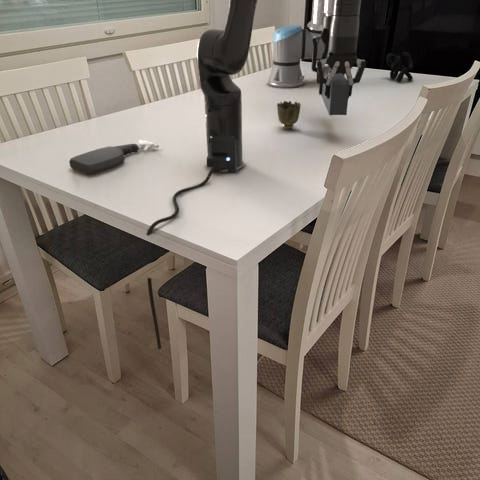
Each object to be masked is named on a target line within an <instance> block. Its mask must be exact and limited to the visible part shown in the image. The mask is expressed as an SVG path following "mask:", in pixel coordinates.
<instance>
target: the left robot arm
mask: <svg viewBox="0 0 480 480" xmlns="http://www.w3.org/2000/svg"><path fill="white" fill-rule="evenodd" d="M361 3H362V0H334V1H333V13H332V20H331V25H330V37H329V49H328V55H327V57H326V59H323V60H320V59H317V61H316V67H317V70H318V76H319V81H320V83H323V84H325V92H324V94H325V97H327V99H329V98H330V87H331V86H330V83H331V81H332V79H333V77H334V75H335V74H339V73H343V74H345V78H346V79H347V81H348V82H349V84H350V87H349V96H348V100H349V99H350V97H352V94H353V86H354V85H355V84H359V83H360V82H361V80H362V77H363V73H364V71H365V70H366V66H367V61H366V60H365V59H360V58H358V56H357V49H358V48H357V47H358V39H359V29H360V13H361V12H360V11H361V6H362V5H361ZM257 4H258V0H228V13H227V17H226V22H225V26H224V29H217V28H216V29H213V28H212V29H207V30H205V31H204V32H203V33H202V34H201V36H200V37H199V39H198V42H197V49H196V61H197V69H198V78H199V85H200V90H201V92H202V94H203V99H204V100H203V101H204V116H205V117H204V118H205V133H206V134H205V135H206V151H207V152H206V153H207V156H206V168H208V169H209V172H208V174H207V176H206V178H204V180H203V181H202V182H200V183H199V184H197V185H193V186H191V187H185V188H182V189H179V190H178V191H176V192H175V193H174V195H173V196H172V203H173V206H174V209H175V210H174V212H173V213H172V214H171V215H169V216H165V217H162V218H160V219H157V220H155V221H154V222H152V224H151V225H150V226H149V228H148V229H147V231H146V236H151V234H152V232H153V230H154V229H155V228H156V227H157V226H158V225H160V224H162V223H164V222H167V221H171V220H173V219H175V218H176V217H177V216H178V214H179V212H180V207H179V204H178V201H177V198H178V196H180V195H181V194H183V193H185V192H189V191H192V190H195V189H198V188H200V187H204V186H205V185H206V184H207V183H208V182H209V180H210V178H211V176H212V174H213V173H237V171H239V170H240V169H242V168H243V166H244V160H243V114H242V113H243V109H242V108H243V106H242V105H243V104H242V103H243V102H242V101H243V100H242V99H243V98H242V96H243V95H242V89H241V88H240V87H239V86H238V85H237V84H236V83H235V82H234V81H233V79H232V78H231V76H234V75H238V74H239V73H241V71H243V69H244V67H245V65H246V63H247V60H248V57H249V52H250V46H251V40H252V33H253V25H254V19H255V14H256V8H257ZM326 64H327V66H329V67H330V70H329V72H328V76H327V78H326V79H325V78H324V76H323V70H322V68H324V67H325V66H326ZM355 65H356V67H357V70H356V73H355V76H354V77H353V74H352V69H353V67H354V66H355ZM147 287H148V297H149V303H150V309H151V313H152V314H151V315H152V319H153V326H154V331H155V337H156V345H157V349H158V350H161V349H162V343H161V336H160V331H159V330H160V329H159V324H158V317H157V312H156V307H155V300H154V293H153V283H152V278H151V277H147Z"/></svg>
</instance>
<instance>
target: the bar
mask: <svg viewBox="0 0 480 480" xmlns="http://www.w3.org/2000/svg"><path fill="white" fill-rule="evenodd" d="M322 70H323V76H324V78H325V79H326V78H327V76H328V72H329V70H330V67H329V66H328V65H325V67H324V68H322ZM330 86H331V87H330V98H329V99H327V97H325V94H324V92H325V84H323V86H322V95H320V96H321V99H322V101H323V103H324V106H325V108H326V111H327V113H328V115H329V116H347V114H348V105H349V99H348V96H349V87H350V84H349V82H348V81H347V77H346V76H345V75H343V74H342V73H339V74H335V75H334V77H333V79H332V81H331V83H330Z"/></svg>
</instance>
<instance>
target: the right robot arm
mask: <svg viewBox="0 0 480 480" xmlns="http://www.w3.org/2000/svg"><path fill="white" fill-rule="evenodd" d="M333 1H334V0H312V9H311V20H310V21H309V22H308V23H307V25H306V28H303V27H302V25H300V24H293V25H286V26H281V27H278V28H276V29H275V30H274V32H273V40H272V43H273V51H272V53H273V55H272V56H273V57H272V68H271V70H270V75H269V78H268V85H269V87H270V86H271V87H272V88H273V87H274V88H280V89H291V88H299V87H301V86H303V85H304V80H305V75H303V74H302V73H303V72H302V68H301V60H311V71H312V72H313V73H316V79H315V82H316V84H317V85H318V95H319V96H321V95H322V86H323V83H320V81H319V76H318V70H317V64H316V61H317V60H323V59H326V57H327V55H328V49H329V37H330V25H331V20H332V13H333ZM342 74H343V73H342ZM343 75H344V76H346V74H343Z"/></svg>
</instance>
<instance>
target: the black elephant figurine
mask: <svg viewBox="0 0 480 480" xmlns="http://www.w3.org/2000/svg"><path fill="white" fill-rule="evenodd" d="M401 57H402V59H401ZM391 59H392V60H391ZM393 60H394V61H393ZM385 61H386V64H387V67H390V68H391V70H390V72H389V78H390V79H391V80H395V79H396V81H397V82H399V83H400V82H402V81H403V79H404V76H406V78H407V80H408V81H412V80H413V79H414V77H413V75H412V74H411V73H410V72H409V71H410V70H412V69H413V68H414V64H413V61H412V57H411V54H410V53H409V52H408V51H403V53H402V54H401V55H396V54H394V53H392V52H390V53H387V55H386V57H385ZM406 62H407V65H408V66H407V67H405V66H404V65H405V64H406ZM400 70H401V71H400Z"/></svg>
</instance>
